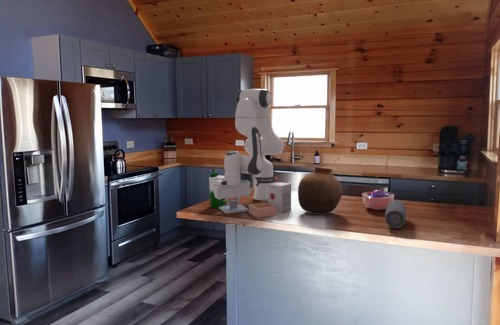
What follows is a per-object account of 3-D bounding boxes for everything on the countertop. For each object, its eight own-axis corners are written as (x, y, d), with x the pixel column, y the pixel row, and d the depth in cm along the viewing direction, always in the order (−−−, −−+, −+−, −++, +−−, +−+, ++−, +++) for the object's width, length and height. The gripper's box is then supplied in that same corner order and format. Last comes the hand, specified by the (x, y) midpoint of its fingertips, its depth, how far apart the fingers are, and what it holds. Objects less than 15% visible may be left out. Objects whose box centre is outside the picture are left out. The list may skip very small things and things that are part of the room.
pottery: (293, 216, 197) (293, 168, 194) (303, 207, 218) (303, 163, 215) (338, 220, 188) (338, 170, 185) (344, 210, 210) (345, 164, 207)
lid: (240, 206, 220) (240, 197, 220) (248, 211, 208) (248, 201, 208) (218, 208, 216) (218, 199, 215) (225, 213, 204) (225, 204, 203)
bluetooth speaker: (386, 217, 192) (386, 198, 191) (406, 219, 189) (407, 199, 188) (383, 230, 172) (384, 208, 170) (405, 232, 168) (406, 209, 167)
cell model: (395, 206, 216) (396, 186, 215) (392, 214, 198) (393, 193, 197) (364, 204, 223) (364, 185, 222) (359, 211, 205) (359, 191, 204)
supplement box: (268, 210, 211) (268, 183, 209) (278, 207, 218) (278, 181, 216) (281, 213, 205) (281, 185, 203) (291, 210, 211) (291, 183, 210)
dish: (267, 211, 209) (267, 202, 208) (276, 216, 199) (276, 206, 198) (248, 213, 205) (248, 204, 204) (256, 218, 195) (256, 208, 194)
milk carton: (213, 205, 226) (212, 171, 224) (227, 205, 224) (227, 172, 222) (208, 208, 218) (207, 174, 215) (223, 209, 216) (223, 174, 214)
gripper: (248, 178, 217) (248, 202, 218) (213, 181, 209) (214, 205, 211) (252, 180, 211) (252, 204, 212) (216, 182, 203) (217, 208, 205)
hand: (233, 205), depth 212 cm, fingers closed on lid, 3 cm apart
